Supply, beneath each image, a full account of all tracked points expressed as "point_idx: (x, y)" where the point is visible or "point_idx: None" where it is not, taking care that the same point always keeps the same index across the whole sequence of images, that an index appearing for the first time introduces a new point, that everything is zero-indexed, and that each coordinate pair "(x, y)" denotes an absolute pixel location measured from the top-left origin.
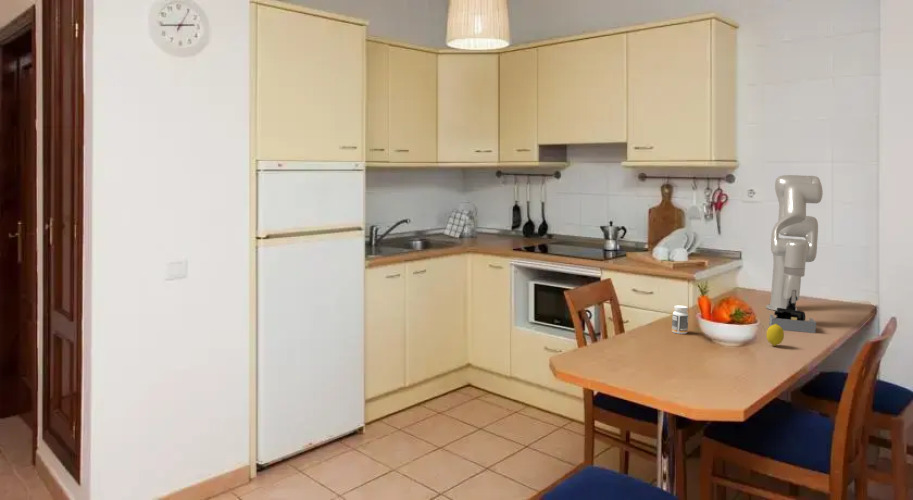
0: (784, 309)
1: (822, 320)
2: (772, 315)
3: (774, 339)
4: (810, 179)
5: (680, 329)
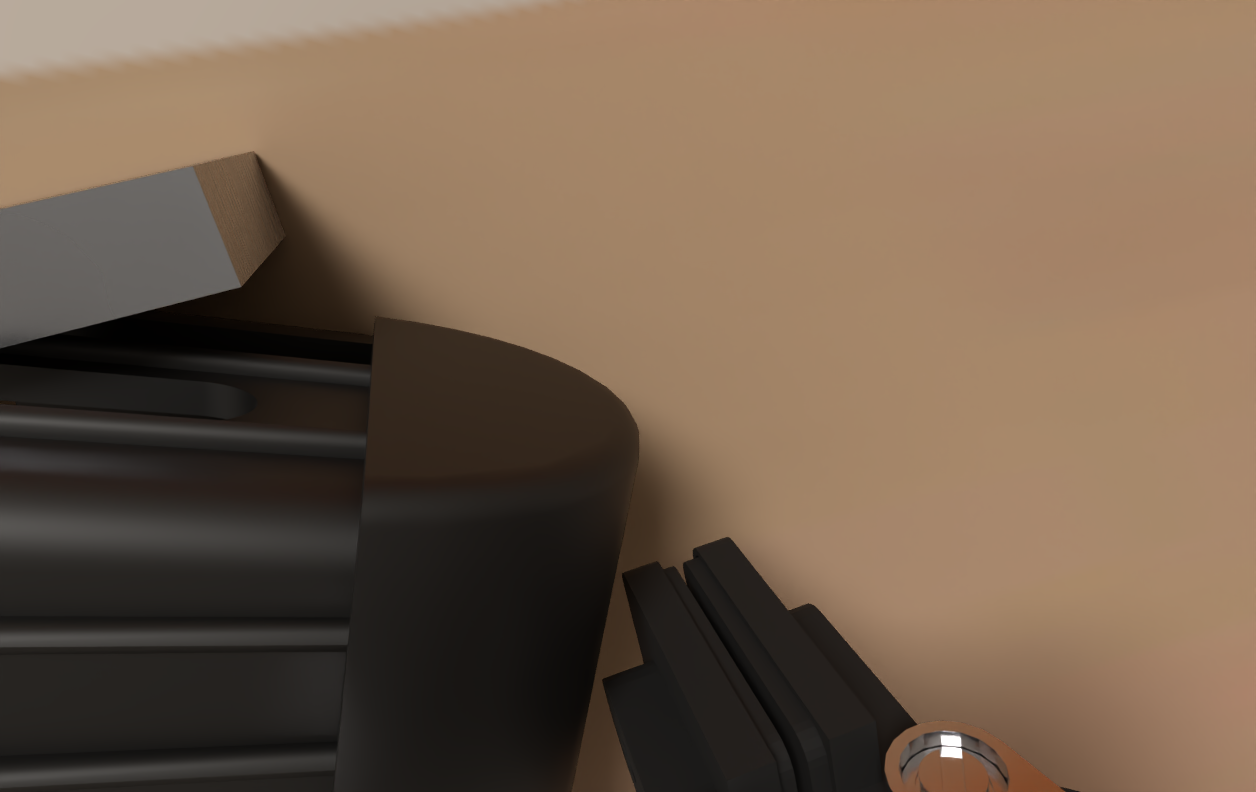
0: (340, 768)
1: (1219, 779)
2: (83, 281)
3: None
4: None
5: None
